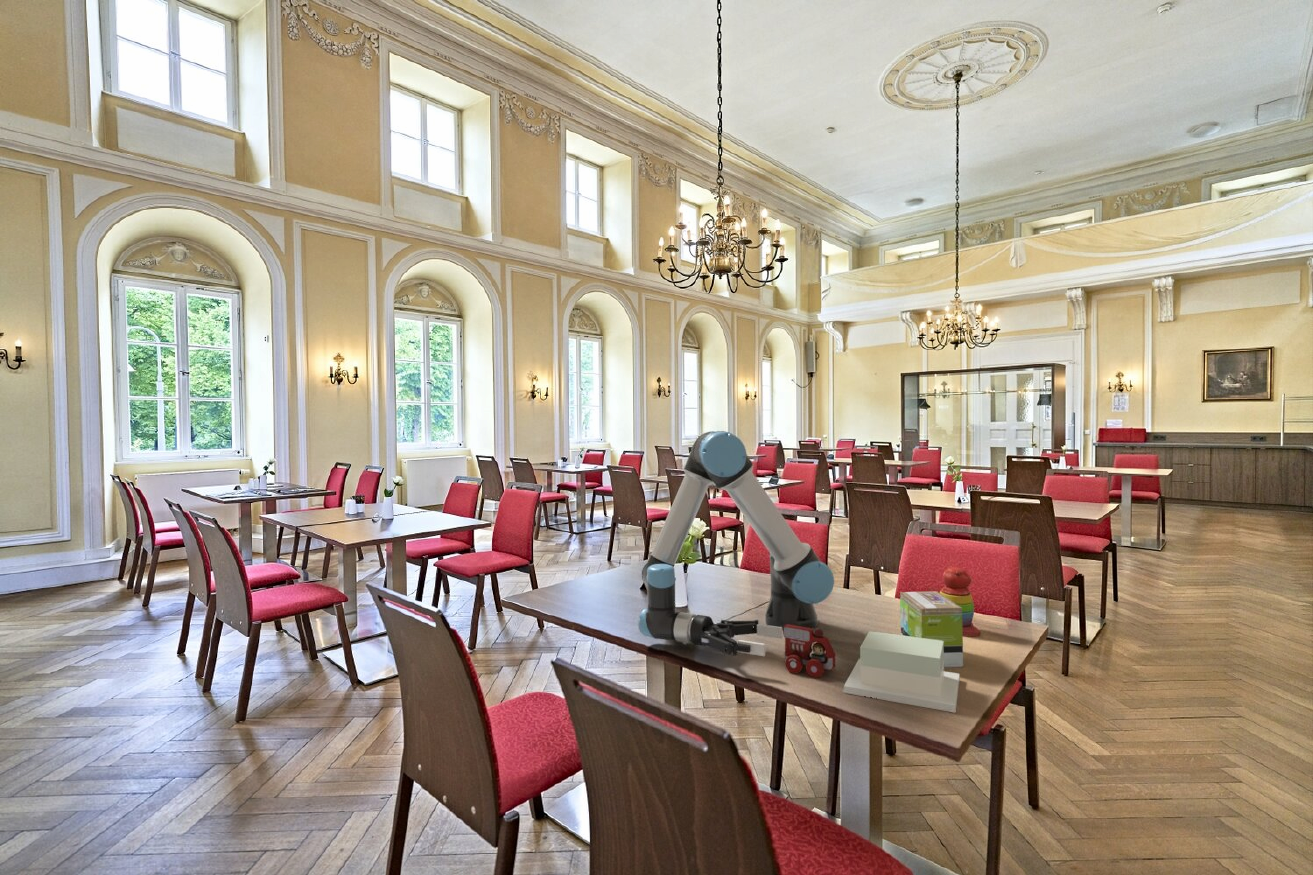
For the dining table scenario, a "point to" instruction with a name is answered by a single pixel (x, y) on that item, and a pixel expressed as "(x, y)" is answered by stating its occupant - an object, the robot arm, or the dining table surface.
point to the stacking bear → (960, 597)
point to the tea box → (934, 622)
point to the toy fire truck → (807, 650)
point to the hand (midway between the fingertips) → (773, 641)
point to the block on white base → (904, 672)
